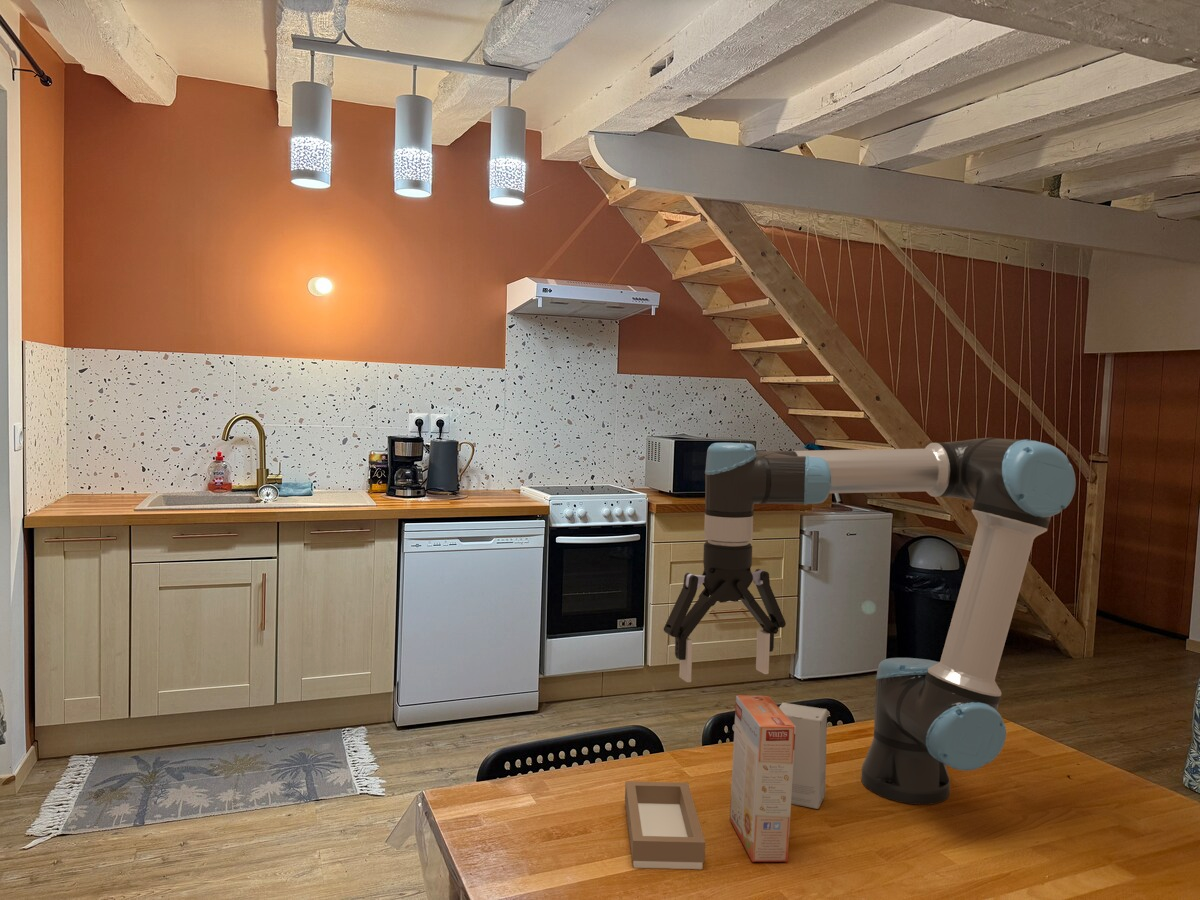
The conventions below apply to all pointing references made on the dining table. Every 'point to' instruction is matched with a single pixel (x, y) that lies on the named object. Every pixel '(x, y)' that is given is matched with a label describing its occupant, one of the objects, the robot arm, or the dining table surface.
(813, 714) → the skincare box
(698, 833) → the tray
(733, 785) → the cracker box
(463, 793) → the dining table surface
